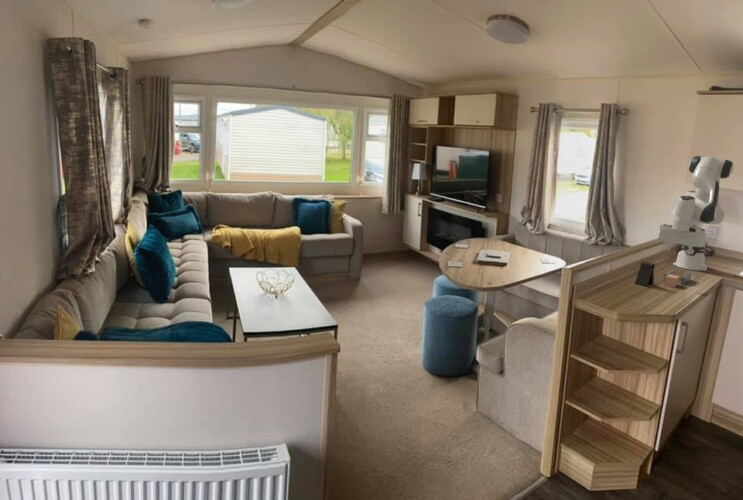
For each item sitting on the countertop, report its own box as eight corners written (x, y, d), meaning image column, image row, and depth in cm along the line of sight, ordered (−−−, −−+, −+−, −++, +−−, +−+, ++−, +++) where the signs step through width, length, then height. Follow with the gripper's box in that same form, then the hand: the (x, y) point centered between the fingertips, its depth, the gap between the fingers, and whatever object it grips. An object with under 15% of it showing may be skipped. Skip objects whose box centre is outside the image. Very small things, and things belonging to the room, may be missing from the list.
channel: (671, 275, 323) (672, 269, 322) (690, 279, 316) (691, 273, 315) (663, 280, 311) (664, 273, 310) (683, 284, 304) (684, 277, 303)
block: (668, 282, 307) (670, 274, 306) (678, 285, 304) (679, 276, 303) (663, 285, 302) (665, 276, 300) (673, 287, 298) (675, 278, 297)
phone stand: (645, 286, 296) (649, 264, 293) (634, 283, 300) (638, 262, 298) (653, 284, 301) (657, 263, 298) (642, 281, 306) (646, 260, 303)
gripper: (659, 223, 301) (654, 248, 304) (701, 230, 288) (696, 256, 291) (662, 222, 305) (657, 247, 308) (704, 229, 292) (699, 254, 295)
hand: (676, 251), depth 299 cm, fingers open, 8 cm apart
